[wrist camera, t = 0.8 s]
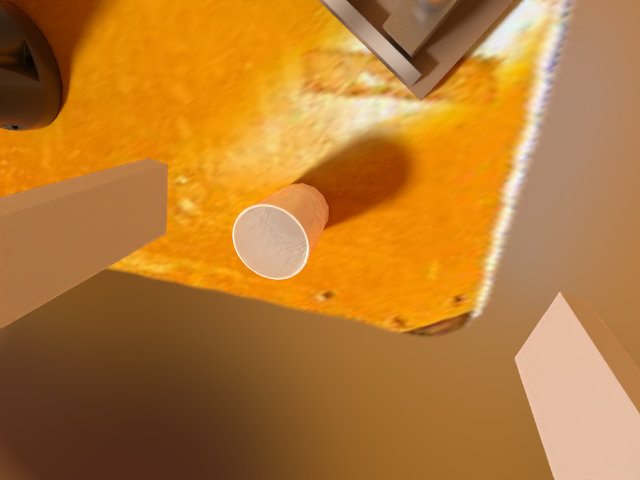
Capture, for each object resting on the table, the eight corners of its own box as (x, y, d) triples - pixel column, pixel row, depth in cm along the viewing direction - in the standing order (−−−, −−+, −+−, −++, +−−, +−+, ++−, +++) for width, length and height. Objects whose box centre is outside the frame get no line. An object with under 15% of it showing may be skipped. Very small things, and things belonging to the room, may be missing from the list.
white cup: (308, 164, 39) (274, 187, 30) (347, 220, 40) (325, 257, 32) (260, 200, 42) (217, 230, 34) (297, 250, 44) (266, 291, 35)
